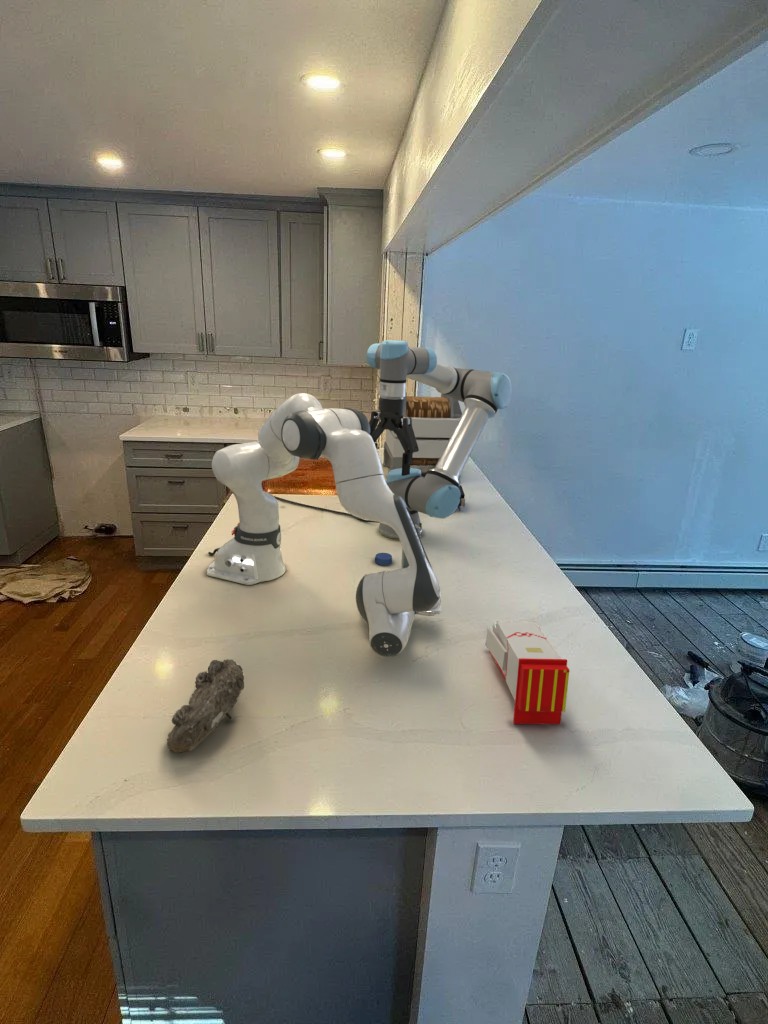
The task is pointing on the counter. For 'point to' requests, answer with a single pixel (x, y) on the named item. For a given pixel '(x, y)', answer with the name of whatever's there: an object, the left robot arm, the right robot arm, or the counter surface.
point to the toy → (530, 671)
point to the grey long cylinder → (404, 560)
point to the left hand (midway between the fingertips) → (405, 584)
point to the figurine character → (461, 498)
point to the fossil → (206, 705)
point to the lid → (383, 558)
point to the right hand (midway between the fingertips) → (388, 469)
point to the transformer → (424, 430)
